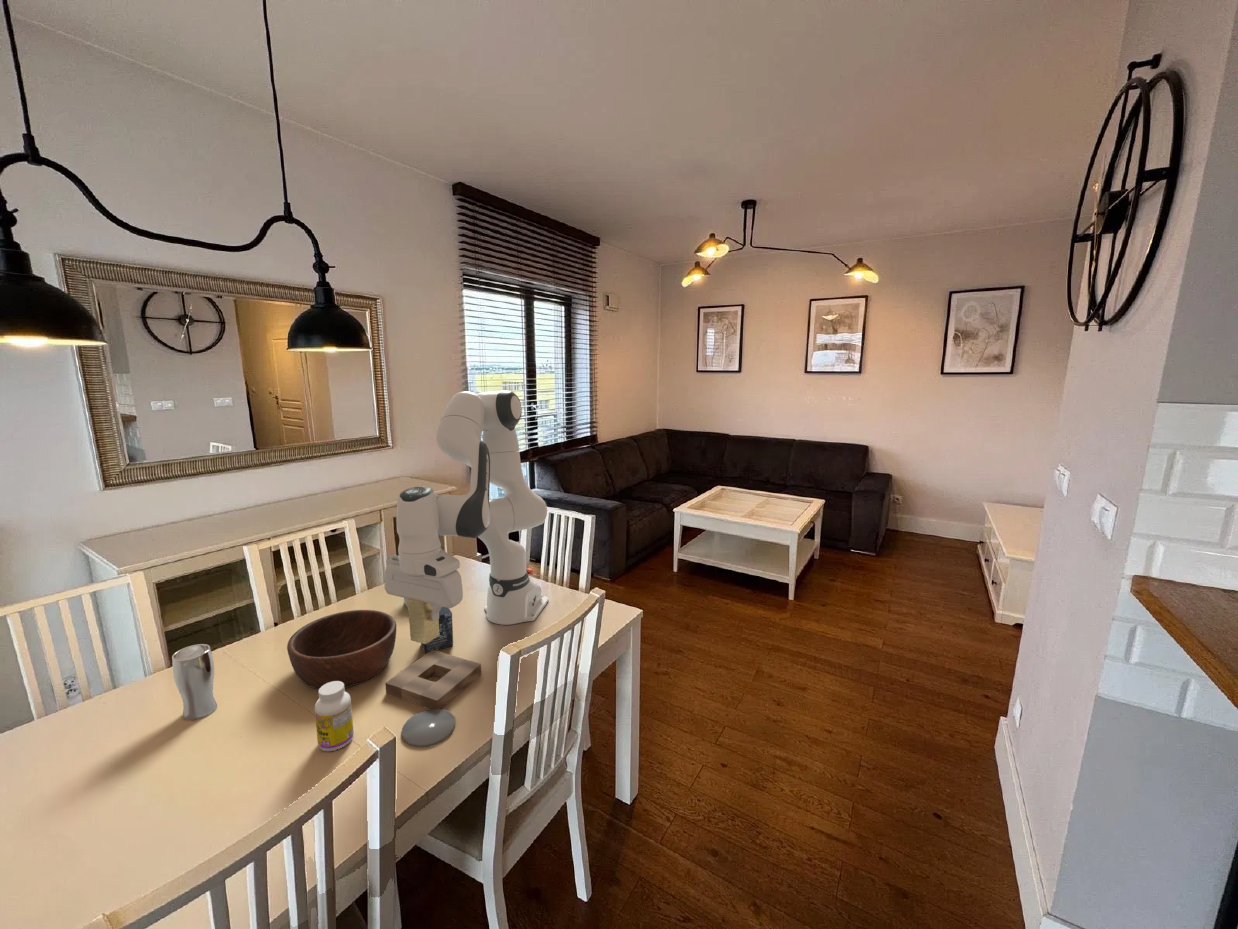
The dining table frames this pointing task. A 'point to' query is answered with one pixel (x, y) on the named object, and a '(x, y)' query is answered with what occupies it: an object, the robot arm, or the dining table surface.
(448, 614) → the box
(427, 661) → the pocket
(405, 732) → the coaster
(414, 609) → the part
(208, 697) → the beer glass
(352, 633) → the wooden bowl
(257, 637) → the dining table surface
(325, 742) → the supplement bottle
